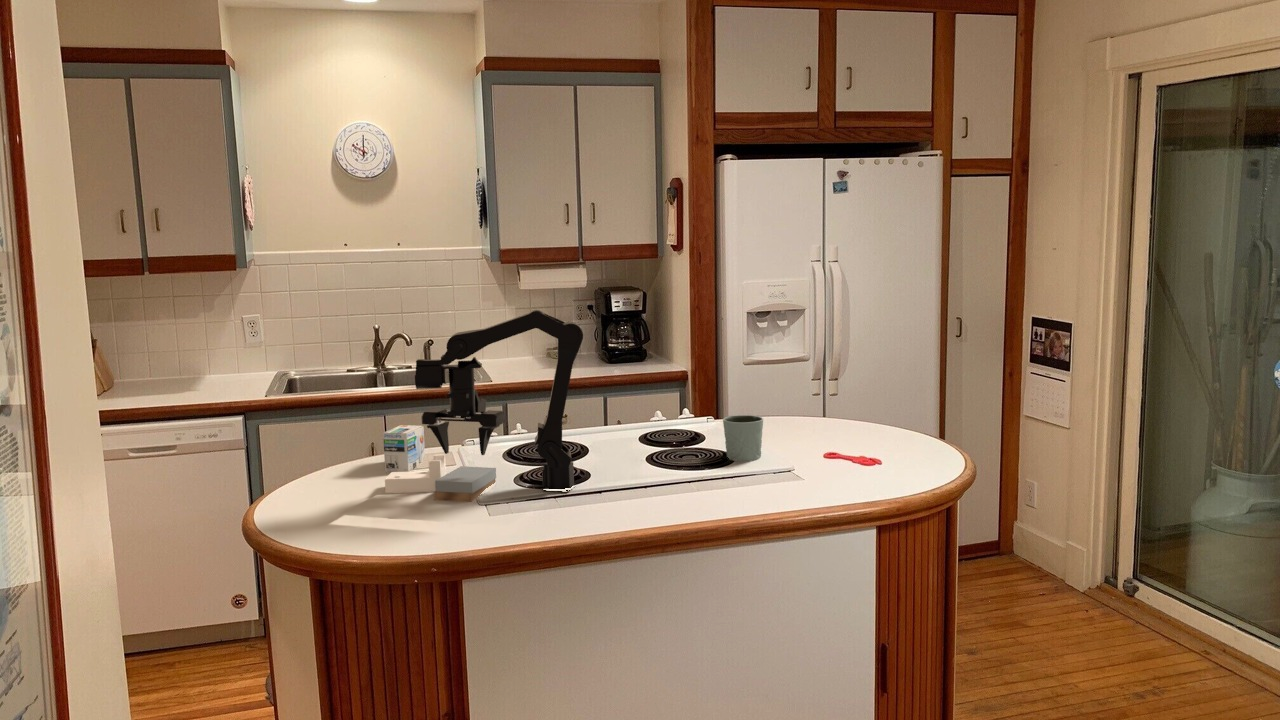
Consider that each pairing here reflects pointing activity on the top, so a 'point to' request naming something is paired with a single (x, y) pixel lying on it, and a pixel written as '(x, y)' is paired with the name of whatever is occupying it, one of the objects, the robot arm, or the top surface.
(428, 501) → the top surface
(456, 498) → the walnut slab
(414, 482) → the bracket
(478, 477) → the slate slab
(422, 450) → the light bulb box
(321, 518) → the top surface
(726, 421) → the green cup
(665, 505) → the top surface
